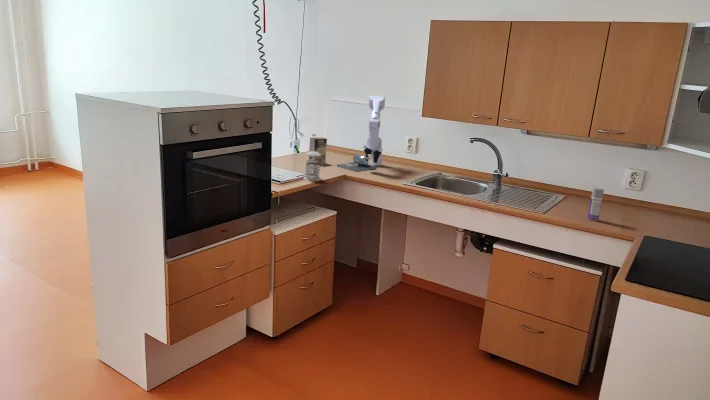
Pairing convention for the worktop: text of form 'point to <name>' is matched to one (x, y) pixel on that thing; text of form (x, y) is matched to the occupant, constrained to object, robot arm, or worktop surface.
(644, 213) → the worktop surface
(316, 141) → the coffee box
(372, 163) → the white mushroom knob
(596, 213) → the container
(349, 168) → the motor mount
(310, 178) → the french press
